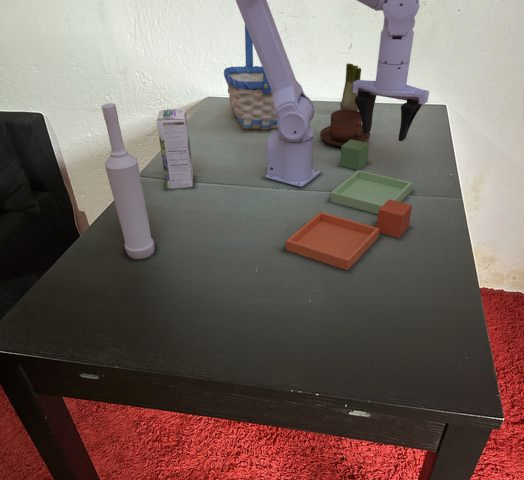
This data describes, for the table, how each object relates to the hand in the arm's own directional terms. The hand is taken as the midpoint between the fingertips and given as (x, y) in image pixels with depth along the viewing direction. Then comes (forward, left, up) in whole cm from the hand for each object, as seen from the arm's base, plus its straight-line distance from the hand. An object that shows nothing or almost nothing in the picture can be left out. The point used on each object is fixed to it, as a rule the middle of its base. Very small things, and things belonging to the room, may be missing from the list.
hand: (384, 135), depth 105 cm
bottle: (-24, -47, -10) cm, 54 cm away
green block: (-8, +5, -10) cm, 14 cm away
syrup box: (-36, -22, -10) cm, 44 cm away
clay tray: (+4, -27, -10) cm, 29 cm away
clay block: (+11, -17, -10) cm, 22 cm away
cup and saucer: (-16, +16, -10) cm, 25 cm away
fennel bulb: (-24, +34, -10) cm, 43 cm away
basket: (-42, +17, -10) cm, 47 cm away
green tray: (+2, -7, -10) cm, 12 cm away
